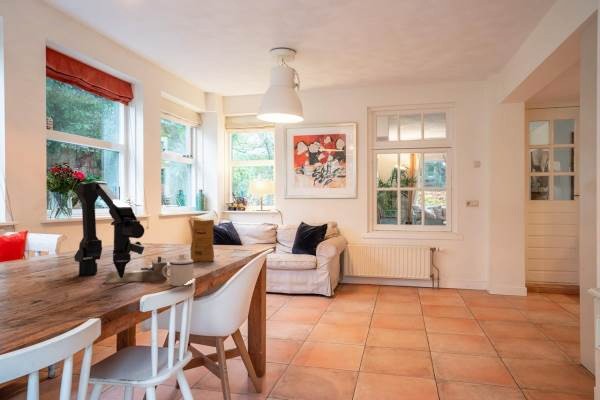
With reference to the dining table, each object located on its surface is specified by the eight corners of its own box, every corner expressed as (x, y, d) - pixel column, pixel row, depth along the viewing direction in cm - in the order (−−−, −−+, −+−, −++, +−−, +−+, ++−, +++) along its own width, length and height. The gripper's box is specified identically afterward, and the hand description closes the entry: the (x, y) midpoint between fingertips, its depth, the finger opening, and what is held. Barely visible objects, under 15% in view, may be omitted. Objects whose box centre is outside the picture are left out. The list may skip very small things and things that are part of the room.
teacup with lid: (196, 281, 157) (196, 252, 157) (189, 286, 148) (190, 256, 148) (166, 281, 157) (166, 252, 157) (158, 286, 148) (158, 255, 148)
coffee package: (191, 259, 212) (191, 219, 212) (214, 259, 214) (215, 219, 214) (189, 262, 202) (189, 220, 202) (213, 262, 204) (214, 220, 204)
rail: (105, 283, 152) (105, 271, 152) (105, 281, 156) (105, 269, 156) (151, 279, 160) (151, 268, 160) (150, 277, 164) (150, 266, 164)
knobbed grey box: (142, 281, 156) (142, 259, 156) (140, 277, 164) (141, 256, 164) (166, 279, 160) (167, 257, 160) (164, 275, 168) (164, 254, 168)
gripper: (144, 238, 152) (144, 278, 152) (141, 234, 169) (141, 270, 169) (113, 239, 147) (112, 280, 147) (113, 234, 164) (112, 271, 164)
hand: (121, 275), depth 157 cm, fingers open, 9 cm apart
